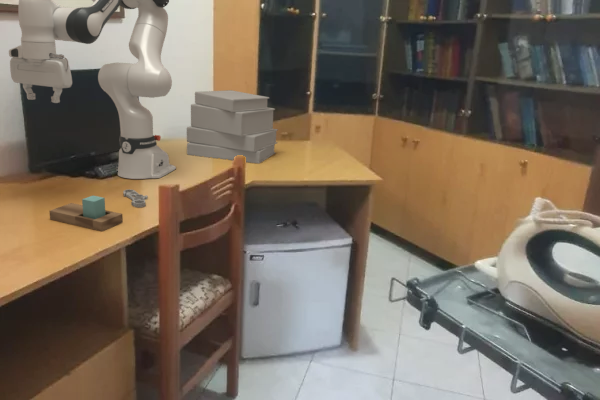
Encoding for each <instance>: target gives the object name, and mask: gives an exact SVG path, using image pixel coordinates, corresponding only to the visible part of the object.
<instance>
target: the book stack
mask: <svg viewBox="0 0 600 400" xmlns="http://www.w3.org/2000/svg"><path fill="white" fill-rule="evenodd" d="M268 99H270V97H269V96H264V95H258V94H252V93H248V92H243V91H237V90H232V89H231V90H230V89H229V90H208V91H202V90H201V91H195V93H194V103H192V104H190V126H187V127H186V142H187V143H186V154H188V156H194V155H195V157H202V156H204V157H203V158H210V157H212V158H211V159H218V158H220V159H219V160H226V159H228V161H234V160H233V159H234V157H235V156H237V155H243V156H245V157H246V162H245V163H250V164H258V165H259V164H261V163H263V162H264V161H265V160H267V159H269V158H270V157H272V156H273V155H275V154H277V153H276V152H275V145H276V144H278V142H277V131H279V129H276V128H274V127H273V126H274V111H275V110H276V108H273V107H268Z"/></svg>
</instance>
